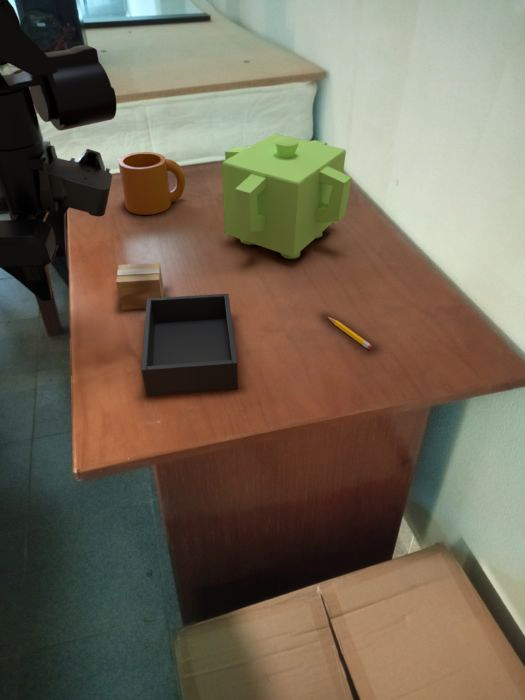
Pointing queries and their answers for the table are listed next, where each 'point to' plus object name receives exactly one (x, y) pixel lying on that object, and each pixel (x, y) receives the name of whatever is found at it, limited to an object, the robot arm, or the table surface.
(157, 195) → the mug
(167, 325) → the bin
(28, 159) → the robot arm
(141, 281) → the package
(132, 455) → the table surface
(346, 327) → the pencil
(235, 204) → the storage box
